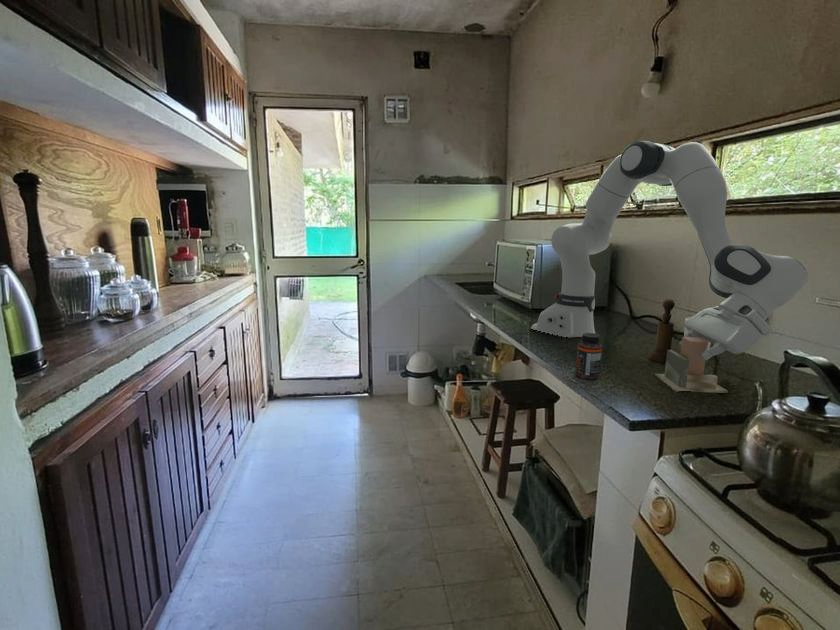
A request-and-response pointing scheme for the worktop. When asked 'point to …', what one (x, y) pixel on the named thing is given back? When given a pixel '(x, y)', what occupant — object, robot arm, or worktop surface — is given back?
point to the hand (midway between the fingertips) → (691, 351)
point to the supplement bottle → (589, 356)
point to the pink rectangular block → (694, 354)
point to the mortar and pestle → (663, 334)
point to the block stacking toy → (687, 376)
